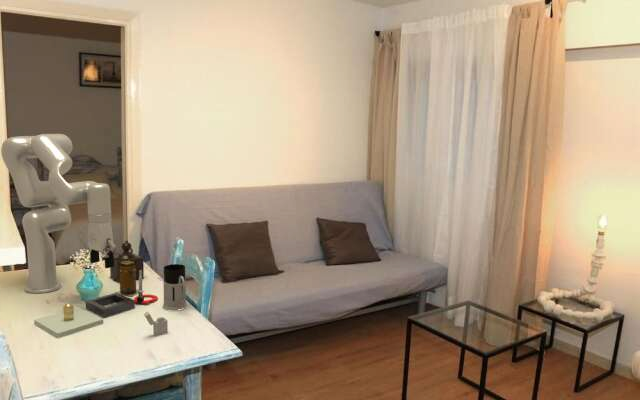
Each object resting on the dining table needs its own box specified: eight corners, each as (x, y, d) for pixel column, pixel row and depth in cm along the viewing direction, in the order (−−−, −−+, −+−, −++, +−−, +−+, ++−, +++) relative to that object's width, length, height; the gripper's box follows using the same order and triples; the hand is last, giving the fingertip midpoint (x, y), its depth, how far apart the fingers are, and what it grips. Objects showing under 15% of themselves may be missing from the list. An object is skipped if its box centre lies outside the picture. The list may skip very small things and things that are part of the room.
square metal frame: (85, 309, 181) (85, 301, 180) (116, 300, 190) (116, 292, 190) (103, 318, 174) (103, 309, 173) (135, 308, 183) (134, 300, 183)
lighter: (165, 330, 166) (165, 307, 164) (167, 332, 164) (167, 309, 163) (144, 336, 161) (143, 312, 160) (145, 338, 160) (145, 314, 159)
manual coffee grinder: (108, 278, 214) (106, 236, 211) (133, 273, 222) (131, 233, 219) (124, 287, 204) (123, 244, 201) (150, 281, 212) (149, 240, 209)
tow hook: (141, 296, 196) (128, 303, 187) (141, 264, 195) (128, 269, 186) (161, 298, 195) (150, 306, 186) (161, 265, 194) (150, 271, 185)
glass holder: (182, 300, 193) (182, 262, 190) (196, 313, 181) (195, 272, 178) (159, 304, 188) (158, 265, 185) (171, 317, 176) (171, 276, 174)
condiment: (128, 287, 204) (127, 259, 202) (144, 291, 201) (144, 262, 199) (114, 293, 198) (113, 263, 196) (130, 297, 194) (130, 267, 192)
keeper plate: (34, 324, 167) (34, 319, 167) (78, 311, 179) (78, 307, 179) (58, 338, 158) (57, 333, 157) (103, 323, 170) (103, 319, 169)
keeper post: (62, 319, 168) (61, 303, 167) (71, 316, 170) (70, 301, 169) (66, 322, 166) (65, 306, 165) (75, 319, 168) (74, 303, 167)
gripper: (77, 216, 182) (79, 262, 185) (103, 223, 172) (105, 271, 174) (96, 213, 188) (99, 258, 190) (123, 220, 177) (125, 267, 180)
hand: (102, 264), depth 182 cm, fingers open, 9 cm apart
